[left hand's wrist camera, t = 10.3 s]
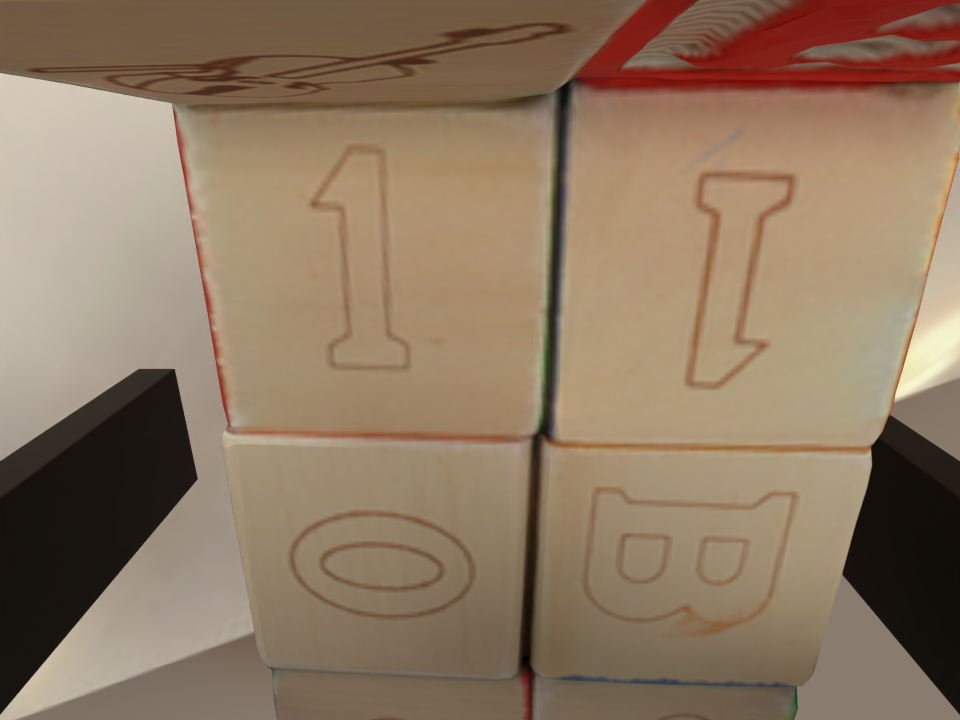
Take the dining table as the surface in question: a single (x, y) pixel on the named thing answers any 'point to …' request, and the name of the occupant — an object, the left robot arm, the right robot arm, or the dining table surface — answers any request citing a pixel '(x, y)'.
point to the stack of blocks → (543, 325)
